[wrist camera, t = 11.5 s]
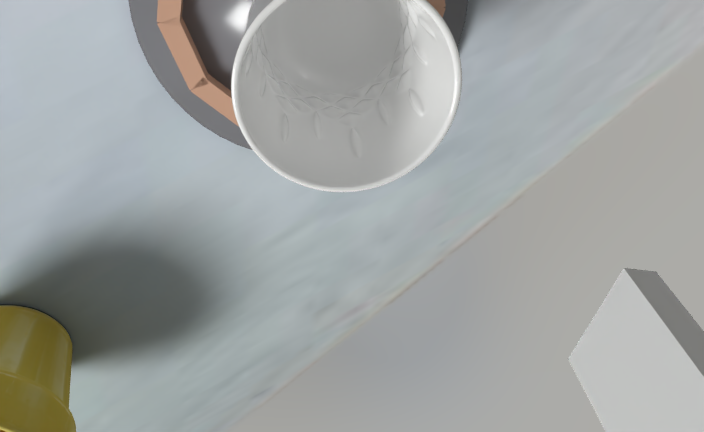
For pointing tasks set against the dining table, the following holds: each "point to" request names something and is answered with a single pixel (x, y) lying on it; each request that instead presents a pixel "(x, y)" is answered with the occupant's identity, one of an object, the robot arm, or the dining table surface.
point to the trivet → (214, 52)
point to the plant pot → (34, 372)
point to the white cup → (345, 88)
